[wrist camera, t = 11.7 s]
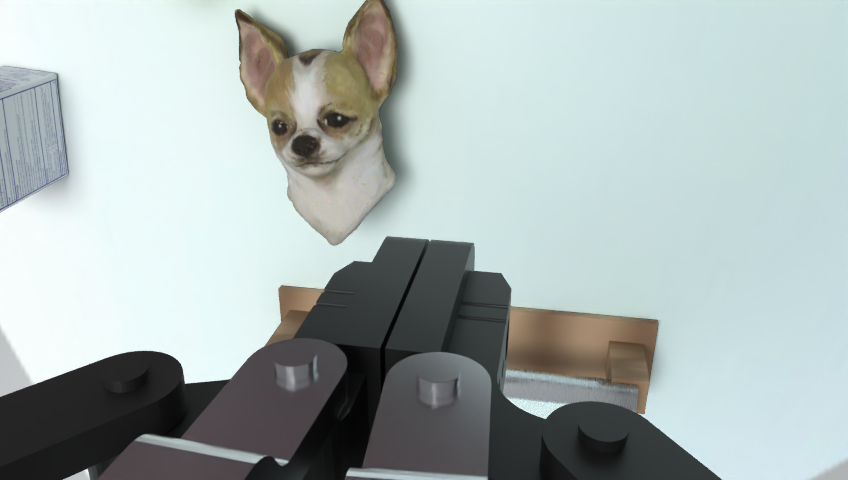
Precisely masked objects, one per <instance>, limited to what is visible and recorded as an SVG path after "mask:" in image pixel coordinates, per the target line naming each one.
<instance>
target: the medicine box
mask: <svg viewBox="0 0 848 480" xmlns="http://www.w3.org/2000/svg"><path fill="white" fill-rule="evenodd" d="M56 78H57V75H56V74H55V73H50V72H42V71H35V70H28V69H21V68H14V67H7V66H1V67H0V212H2V211H4V210H6V209H7V208H9V207H11V206H13V205H14V204H16V203H18V202H20V201H22V200H24V199H25V198H27V197H29V196H31V195H33V194H34V193H36V192H38V191H40V190H41V189H43V188H45V187H47V186H49V185H51V184H52V183H54V182H56V181H58V180H59V179H61V178H63V177H65V176H67V175H68V169H67V161H66V153H65V145H64V137H63V128H62V120H61V112H60V104H59V96H58V88H57V79H56Z"/></svg>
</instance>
